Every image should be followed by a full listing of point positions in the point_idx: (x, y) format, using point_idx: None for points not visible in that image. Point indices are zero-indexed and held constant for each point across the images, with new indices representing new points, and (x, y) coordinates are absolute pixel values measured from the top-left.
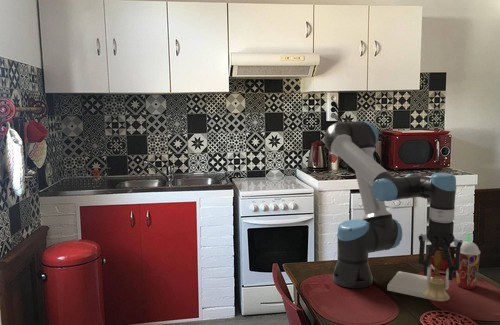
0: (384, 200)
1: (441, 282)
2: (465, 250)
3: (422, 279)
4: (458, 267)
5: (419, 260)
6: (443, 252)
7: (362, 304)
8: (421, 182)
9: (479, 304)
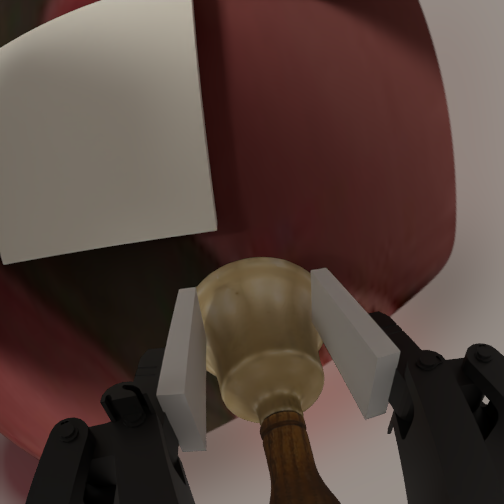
0: None
1: (312, 404)
2: None
3: (92, 52)
4: (479, 416)
5: (94, 491)
6: None
7: (53, 406)
8: None
9: (407, 139)
